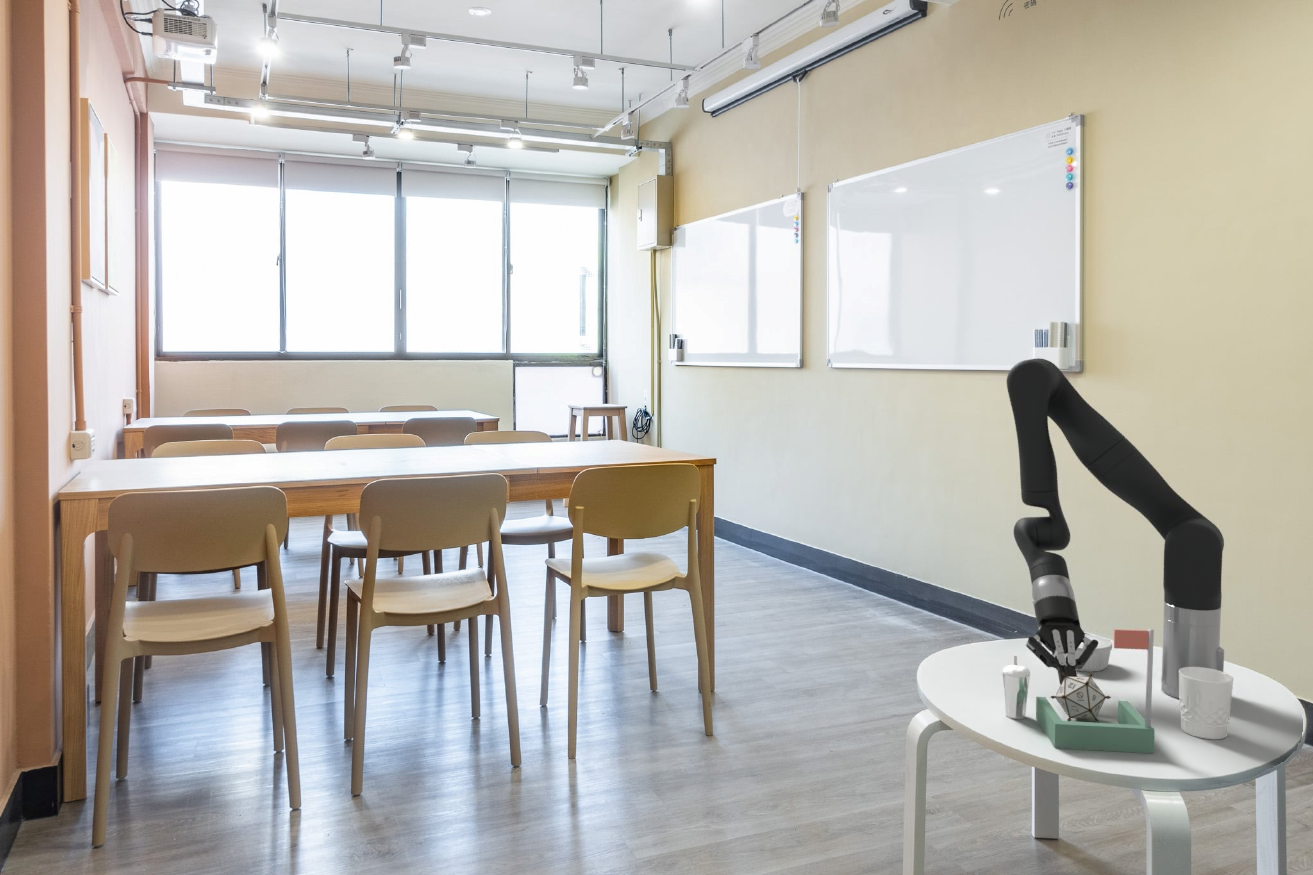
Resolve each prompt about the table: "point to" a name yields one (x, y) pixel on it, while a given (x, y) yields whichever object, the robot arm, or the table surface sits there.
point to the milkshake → (1016, 689)
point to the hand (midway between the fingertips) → (1070, 687)
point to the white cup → (1205, 701)
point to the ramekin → (1096, 654)
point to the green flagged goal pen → (1105, 736)
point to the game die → (1080, 697)
